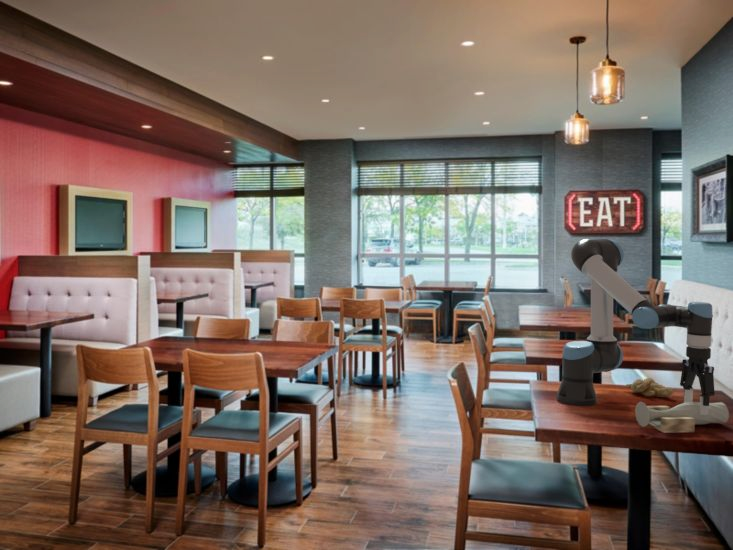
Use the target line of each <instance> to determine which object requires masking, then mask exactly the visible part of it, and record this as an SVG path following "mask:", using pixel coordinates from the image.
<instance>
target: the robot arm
mask: <svg viewBox="0 0 733 550" xmlns="http://www.w3.org/2000/svg"><path fill="white" fill-rule="evenodd" d="M624 254H625V253H624V250H623V247H622V246H621V245H620V243H618V242H617V241H615V240H614V239H608V238H584V239H581V240H579V241H577V242H576V243H575V244H574V245H573V247H572V249H571V252H570V255H571V256H570V257H571V260H572V261H571V262H572V264H573V265H574V266H575V267H576V268H577V270H578V271H579V272H580V273H582V274H583V275H584V276H589V277H590V334H589V335H588V337H587V338H586V340H578V341H577V340H574V341H569V342H566V343H565V344H564V345H563V347H562V353H561V355H562V357H561V359H562V360H561V361H562V364H561V367H562V368H561V382H560V385H559V387H558V390H557V393H556V400H557V401H558V402H560V403H563V404H566V405H571V406H583V407H584V406H593V405H597V401H598V397H597V393H596V389H595V386H594V382H593V381H594V374H597V373H606V372H607V373H608V372H611V371H614V370H616V369H618V368H619V367H620V366H621V365H622V363H623V360H624V351H623V349H622V348H621V346H620V344H618V339H617V338H616V337H615V336H614V300H615V301H616V302H617V303H618V304H619V305H620V306H622V307H623V308H624V309H625V310H626V311H627V313H629V314H630V315H631V320H632V322H633V325H634V326H635V327H637V328H639V329H644V330H645V329H647V330H648V329H649V330H652V329H657V328H669V327H676V328H684V329H685V328H686V345H687V346H685V347H686V350H685V351H686V352H685V357H687V358H688V359H682V367H681V368H682V369H681V376H680V381H679V382H680V383H679V386H680V387H682V388H683V389H684V391H683V392H684V393H683V398H684V399H683V403H685V402H694V401H693V399H694V397H693V396H694V387H693V385H694V382H695V379H696V377H697V378H698V383H699V387H700V392H701V394H699V402H700V411H699V414H700V415H708V407H709V403H710V399H711V398H710V397H714V396H715V395H716V394H715V381H714V380H715V379H714V377H715V376H714V372H715V367H714V366H710V365H709V363H708V360H709V359H711V355H712V349H711V348H710V347H712V332H713V331H712V329H713V328H712V327H713V318H714V315H713V305H712V304H711V303H709V302H705V301H704V302H702V301H701V302H700V301H689V302H688V304H687V306H681V305H674V304H667V303H666V304H659V305H657V306H655V305H654V304H653V303H651V302H650V301H649V300H648V299H646V298H645V297H644V296H643V295H642V294H641V293H640V292H639V291H638V290H637V289H636V288H634V287H633V286H632V285H631V284H630V283H628V281H626V280H625V279H624V278H623V277H622V276H621V275H619V273H618V268H619V266H621V264H622V263H623V261H624Z"/></svg>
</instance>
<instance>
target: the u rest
mask: <svg viewBox="0 0 733 550" xmlns="http://www.w3.org/2000/svg"><path fill="white" fill-rule="evenodd" d="M646 406H647V407H648V408H650V409H653V410H658V411H664V410H668V409H671V407H670V406H668V405H646ZM647 426H651V427H652V428H654V429H655V430H657V431H659V432H661V433H664V434H667V433H668V434H670V433H673V434H674V433H675V434H676V433H695V426H696V425H695V418H692V417H657V418H654V419H652V420H650V421H649V422H648V425H647Z"/></svg>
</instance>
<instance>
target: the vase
mask: <svg viewBox="0 0 733 550" xmlns="http://www.w3.org/2000/svg"><path fill="white" fill-rule="evenodd" d="M647 406H648V405H647V404H646V403H645V402H642V401H641V400H640V401H639V402H638V403H636V406H635V409H634V412H635V419H636V421H637V424H638V425H639V426H641V427H642V428H645V427H646V426H649V425H648V422H649V421H650V420H652V419H654V418H657V417H692V418H695V426H696V425H708V424H711V423H717V424H726V423H727V422H728V420H729V418H730V412H729V409H728V406H727V405H726V404H725V403H724V402H723V401H721V402H709V407H708V415H700V414H699V411H700V401H693V402H685V403H684V402H682V403H680V404H677V405H675V406H674V407H673V406H672V407H670V409H668V410H664V411H658V410H653V409H650V408H648V407H647Z"/></svg>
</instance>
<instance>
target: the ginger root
mask: <svg viewBox="0 0 733 550" xmlns="http://www.w3.org/2000/svg"><path fill="white" fill-rule="evenodd" d="M625 387H627V388H628V389H631V390H632V393H634V394H638V393H639V394H641V395H643V396H644V397H647V398H648V397H661V398H665V397H670V396H671V395H673V394H674V389H673V388H672V387H671V386H670V387H667V386H664V385H663V384H660V383H658V382H656V381H655V380H654V379H653V378H652V377H647V378H644V380H643V379H640V378H638V379H636V380H634V381H633V382H632V383H627V384H625Z"/></svg>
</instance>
